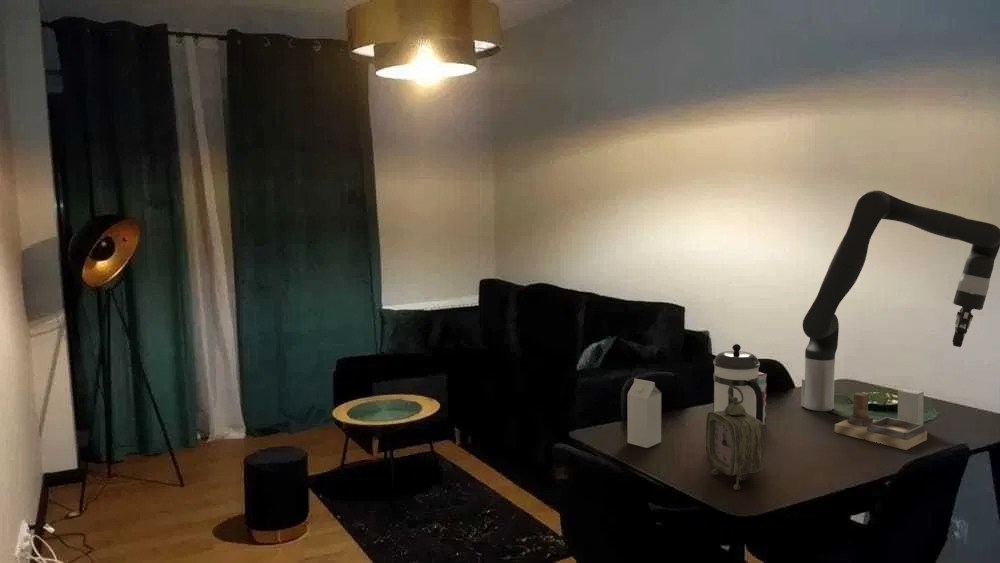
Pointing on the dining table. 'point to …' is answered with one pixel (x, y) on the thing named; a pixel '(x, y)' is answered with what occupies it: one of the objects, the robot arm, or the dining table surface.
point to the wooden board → (880, 427)
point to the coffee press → (738, 381)
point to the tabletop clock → (735, 441)
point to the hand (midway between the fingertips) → (956, 344)
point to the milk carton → (644, 414)
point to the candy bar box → (763, 392)
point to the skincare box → (910, 405)
